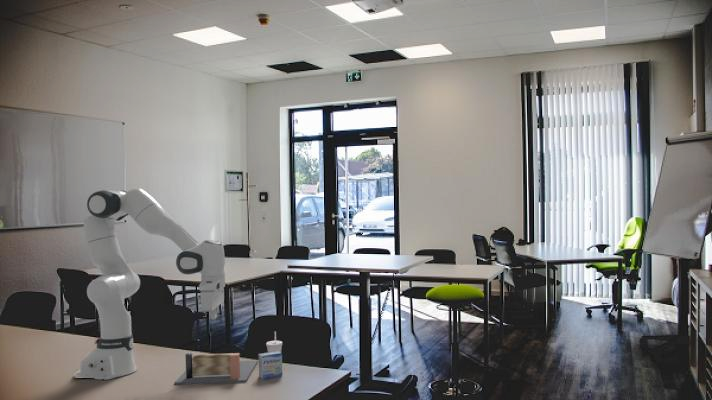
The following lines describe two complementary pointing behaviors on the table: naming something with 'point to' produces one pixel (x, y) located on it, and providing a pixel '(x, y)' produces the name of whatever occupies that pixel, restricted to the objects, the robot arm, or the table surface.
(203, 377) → the mat
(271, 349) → the smoothie
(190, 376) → the hinge post
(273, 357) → the medicine box
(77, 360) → the table surface
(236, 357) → the post
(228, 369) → the gate
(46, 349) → the table surface
